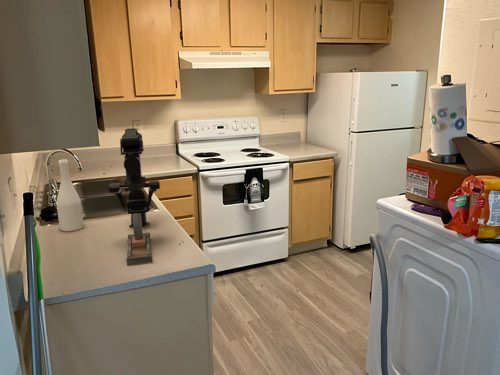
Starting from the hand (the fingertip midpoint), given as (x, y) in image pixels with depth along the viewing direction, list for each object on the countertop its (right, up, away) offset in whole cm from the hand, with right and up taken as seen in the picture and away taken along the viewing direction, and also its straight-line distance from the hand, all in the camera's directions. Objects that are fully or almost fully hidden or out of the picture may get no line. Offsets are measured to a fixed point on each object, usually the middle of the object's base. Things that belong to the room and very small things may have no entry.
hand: (136, 207), depth 159 cm
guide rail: (+3, -16, -7) cm, 17 cm away
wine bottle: (-33, -10, +17) cm, 38 cm away
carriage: (+2, -13, -4) cm, 14 cm away
